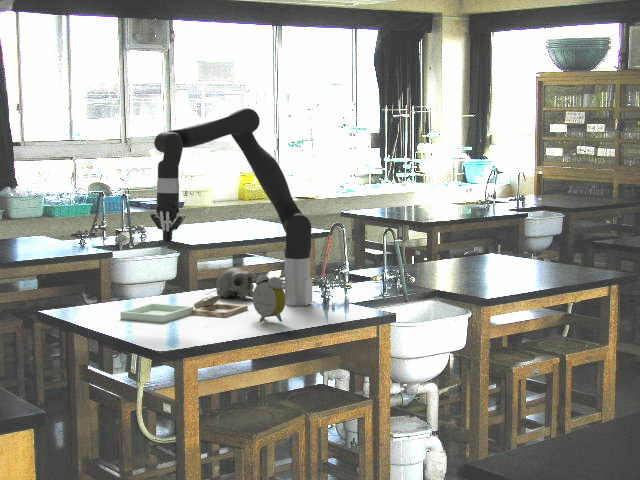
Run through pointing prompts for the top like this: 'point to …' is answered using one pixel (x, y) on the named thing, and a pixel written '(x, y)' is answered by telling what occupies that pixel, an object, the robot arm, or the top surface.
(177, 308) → the tray
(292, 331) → the top surface
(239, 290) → the skull
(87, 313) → the top surface
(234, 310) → the frame
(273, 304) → the alarm clock
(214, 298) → the cuneiform tablet
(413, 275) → the top surface
